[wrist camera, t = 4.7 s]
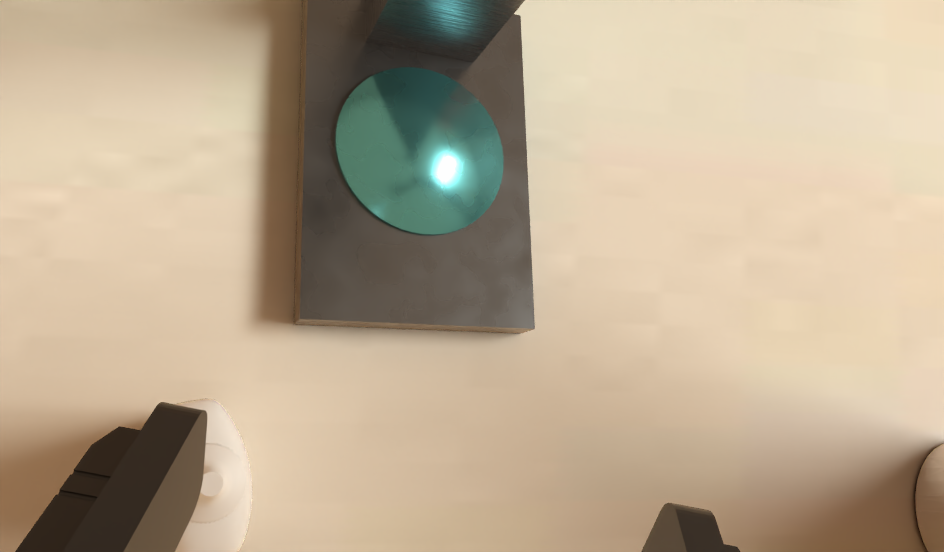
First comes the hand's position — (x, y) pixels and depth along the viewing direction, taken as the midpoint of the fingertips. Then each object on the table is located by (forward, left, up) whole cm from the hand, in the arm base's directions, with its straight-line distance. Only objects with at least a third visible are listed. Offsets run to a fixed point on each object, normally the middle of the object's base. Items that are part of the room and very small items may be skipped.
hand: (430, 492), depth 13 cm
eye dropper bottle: (+1, +3, -23) cm, 23 cm away
